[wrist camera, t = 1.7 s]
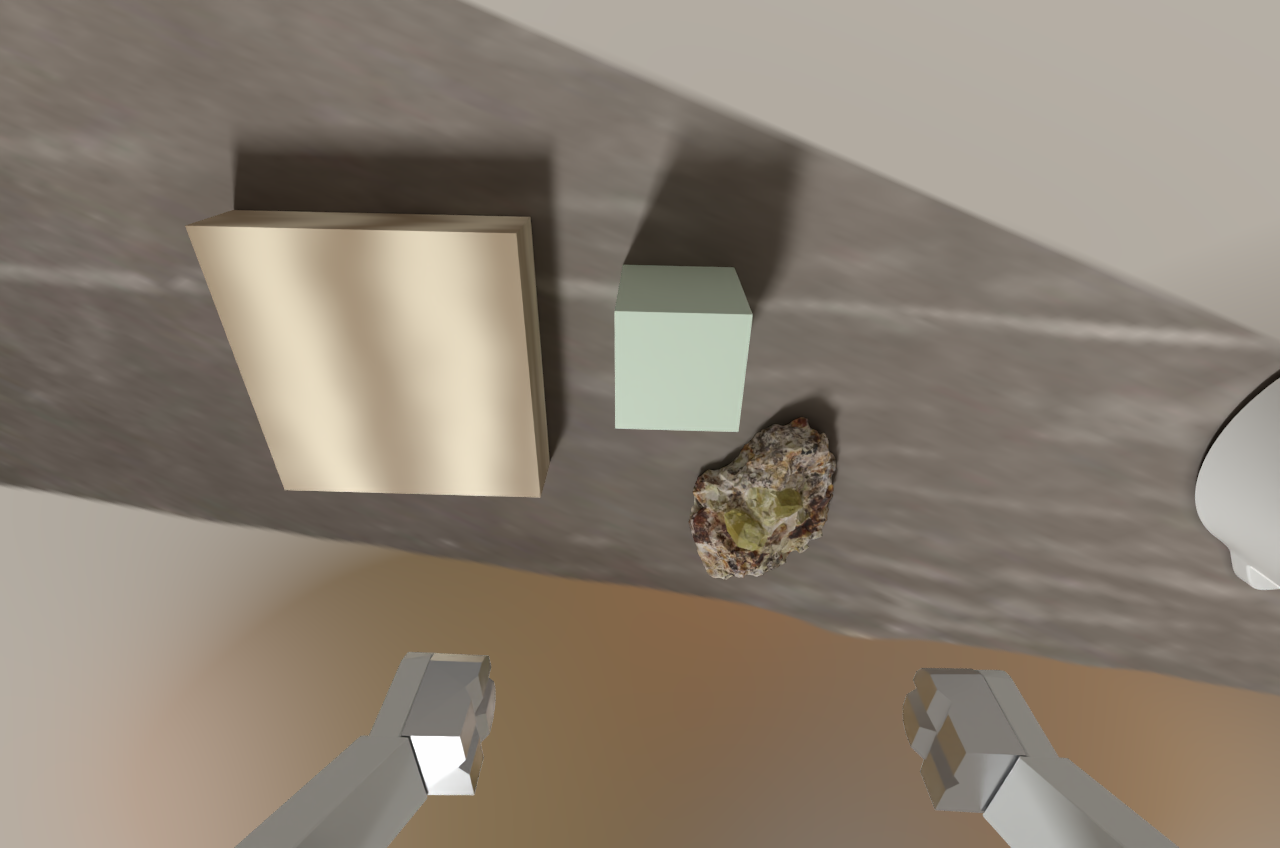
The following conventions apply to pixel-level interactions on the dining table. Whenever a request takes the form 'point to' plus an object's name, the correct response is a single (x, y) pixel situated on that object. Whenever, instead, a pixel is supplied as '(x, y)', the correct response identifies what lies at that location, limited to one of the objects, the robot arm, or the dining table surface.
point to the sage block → (680, 348)
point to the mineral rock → (763, 501)
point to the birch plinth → (386, 347)
